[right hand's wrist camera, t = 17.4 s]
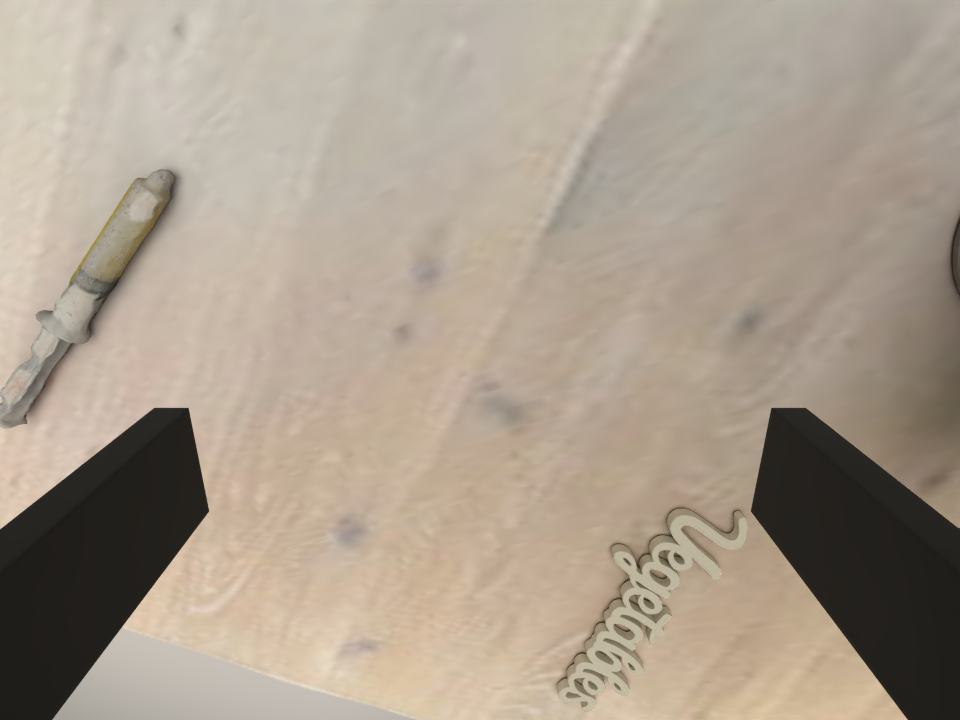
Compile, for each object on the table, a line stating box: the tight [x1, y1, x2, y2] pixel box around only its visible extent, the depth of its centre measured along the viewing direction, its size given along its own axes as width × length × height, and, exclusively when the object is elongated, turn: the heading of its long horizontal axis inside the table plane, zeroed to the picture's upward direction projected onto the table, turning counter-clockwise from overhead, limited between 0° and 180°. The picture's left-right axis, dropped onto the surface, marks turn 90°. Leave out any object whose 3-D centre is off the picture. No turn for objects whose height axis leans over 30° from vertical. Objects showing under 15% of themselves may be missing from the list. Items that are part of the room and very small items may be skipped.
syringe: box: [0, 169, 175, 428], centre depth 42 cm, size 25×4×3 cm, turn 136°
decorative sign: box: [557, 509, 748, 711], centre depth 53 cm, size 26×1×10 cm
